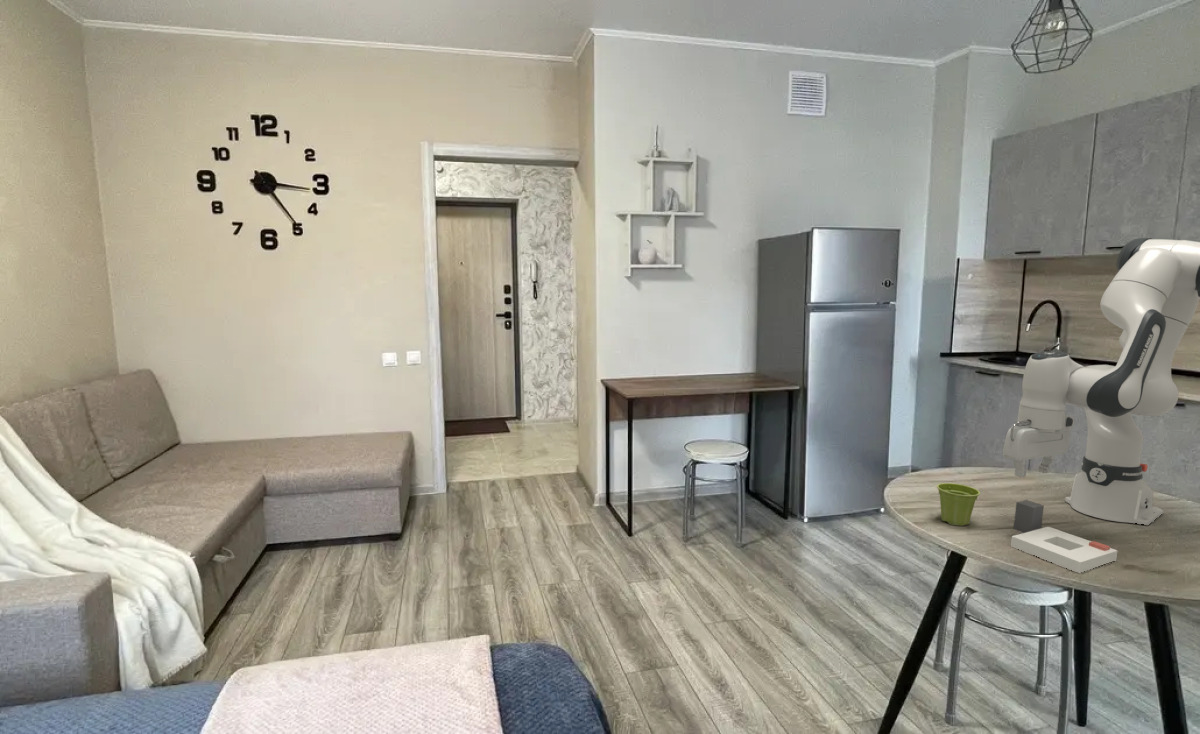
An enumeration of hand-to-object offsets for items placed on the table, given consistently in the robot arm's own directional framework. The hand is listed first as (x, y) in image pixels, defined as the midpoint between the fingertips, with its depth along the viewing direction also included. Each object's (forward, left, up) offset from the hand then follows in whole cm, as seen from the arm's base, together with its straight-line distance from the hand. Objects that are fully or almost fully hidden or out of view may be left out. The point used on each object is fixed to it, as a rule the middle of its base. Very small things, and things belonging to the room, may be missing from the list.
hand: (1031, 474), depth 145 cm
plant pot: (+10, -11, -15) cm, 21 cm away
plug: (-1, 0, -15) cm, 15 cm away
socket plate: (+5, +11, -15) cm, 19 cm away
